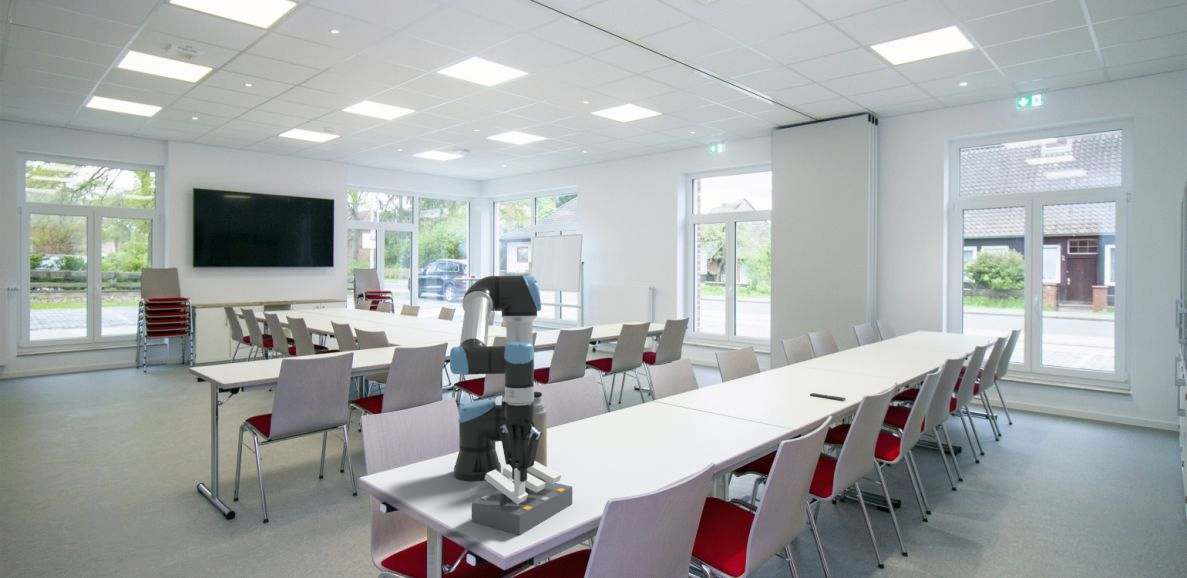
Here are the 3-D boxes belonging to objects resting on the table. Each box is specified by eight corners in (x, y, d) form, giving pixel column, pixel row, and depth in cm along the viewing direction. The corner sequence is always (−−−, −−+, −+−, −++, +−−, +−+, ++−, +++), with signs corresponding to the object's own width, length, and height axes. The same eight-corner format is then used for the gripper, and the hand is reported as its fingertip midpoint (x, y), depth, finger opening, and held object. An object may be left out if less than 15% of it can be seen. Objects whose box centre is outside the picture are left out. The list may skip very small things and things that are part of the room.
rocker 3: (519, 466, 174) (520, 460, 173) (526, 463, 177) (528, 457, 177) (552, 484, 168) (553, 478, 168) (559, 480, 171) (561, 474, 171)
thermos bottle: (522, 475, 195) (522, 389, 194) (547, 475, 196) (547, 389, 194) (520, 485, 187) (520, 395, 186) (546, 484, 188) (546, 395, 186)
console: (471, 521, 160) (471, 491, 160) (527, 493, 180) (527, 466, 180) (519, 535, 152) (519, 503, 151) (572, 504, 172) (572, 476, 172)
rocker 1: (484, 478, 161) (486, 473, 160) (493, 475, 164) (495, 469, 163) (517, 504, 155) (519, 498, 155) (526, 499, 158) (528, 494, 158)
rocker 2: (502, 473, 167) (503, 467, 167) (510, 470, 170) (511, 464, 170) (536, 492, 161) (537, 486, 161) (544, 488, 164) (545, 482, 164)
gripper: (490, 402, 157) (490, 492, 157) (530, 407, 150) (531, 502, 150) (508, 397, 163) (509, 484, 164) (548, 402, 156) (548, 493, 157)
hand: (519, 492), depth 157 cm, fingers closed
